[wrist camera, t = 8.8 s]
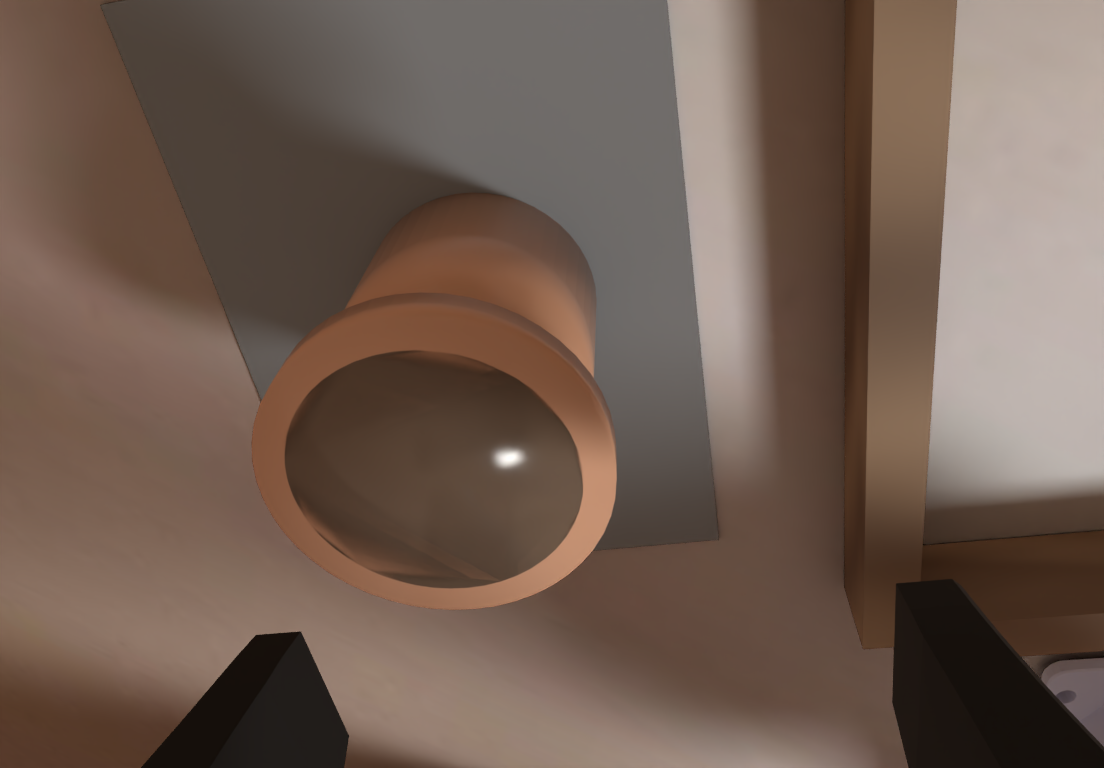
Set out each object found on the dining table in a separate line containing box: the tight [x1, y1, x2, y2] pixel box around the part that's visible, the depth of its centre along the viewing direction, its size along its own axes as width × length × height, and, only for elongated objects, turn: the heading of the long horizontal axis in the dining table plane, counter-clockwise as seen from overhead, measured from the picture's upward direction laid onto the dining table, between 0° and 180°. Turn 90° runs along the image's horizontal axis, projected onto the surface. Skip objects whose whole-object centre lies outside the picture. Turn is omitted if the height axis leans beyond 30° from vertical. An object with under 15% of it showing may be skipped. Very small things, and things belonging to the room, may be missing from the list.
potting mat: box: [100, 0, 719, 551], centre depth 19 cm, size 14×10×1 cm
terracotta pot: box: [252, 193, 617, 610], centre depth 16 cm, size 6×6×6 cm
